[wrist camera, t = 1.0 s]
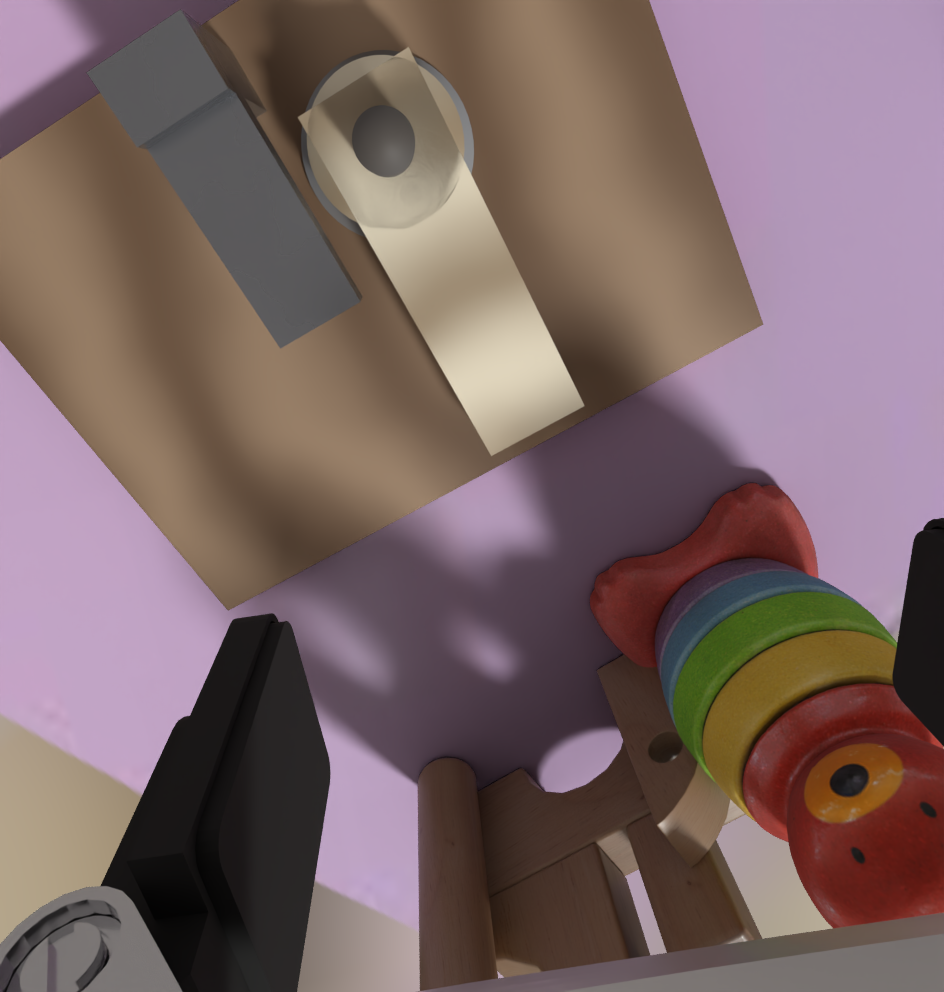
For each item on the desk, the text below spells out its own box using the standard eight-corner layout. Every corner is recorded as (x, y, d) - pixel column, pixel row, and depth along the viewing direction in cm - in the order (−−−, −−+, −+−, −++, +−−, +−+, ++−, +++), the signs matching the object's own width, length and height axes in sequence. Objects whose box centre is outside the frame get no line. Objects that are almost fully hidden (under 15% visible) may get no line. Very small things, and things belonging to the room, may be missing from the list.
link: (285, 116, 23) (258, 99, 19) (414, 34, 23) (414, -1, 19) (475, 444, 28) (486, 487, 24) (584, 385, 28) (614, 419, 24)
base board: (560, -196, 22) (572, -225, 21) (746, 318, 29) (765, 325, 28) (-71, 222, 25) (-102, 224, 24) (235, 593, 33) (226, 613, 31)
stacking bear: (768, 463, 32) (1141, 737, 16) (847, 610, 36) (1213, 952, 20) (572, 586, 34) (726, 947, 18) (667, 714, 38) (867, 1108, 21)
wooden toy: (652, 631, 35) (1090, 1431, 13) (707, 713, 38) (1157, 1504, 15) (405, 772, 38) (398, 1654, 15) (473, 840, 40) (554, 1684, 18)
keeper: (231, 49, 23) (180, 9, 18) (368, 284, 26) (358, 305, 21) (156, 98, 23) (86, 72, 18) (301, 323, 26) (275, 353, 21)
